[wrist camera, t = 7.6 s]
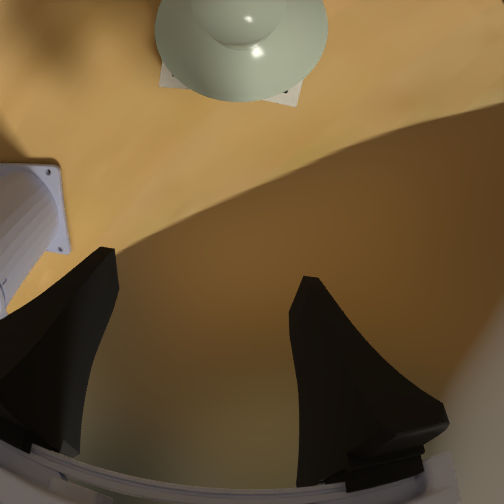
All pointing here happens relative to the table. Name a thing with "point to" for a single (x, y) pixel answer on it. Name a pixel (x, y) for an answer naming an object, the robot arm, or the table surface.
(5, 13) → the table surface
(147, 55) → the table surface
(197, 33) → the lid
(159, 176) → the table surface
